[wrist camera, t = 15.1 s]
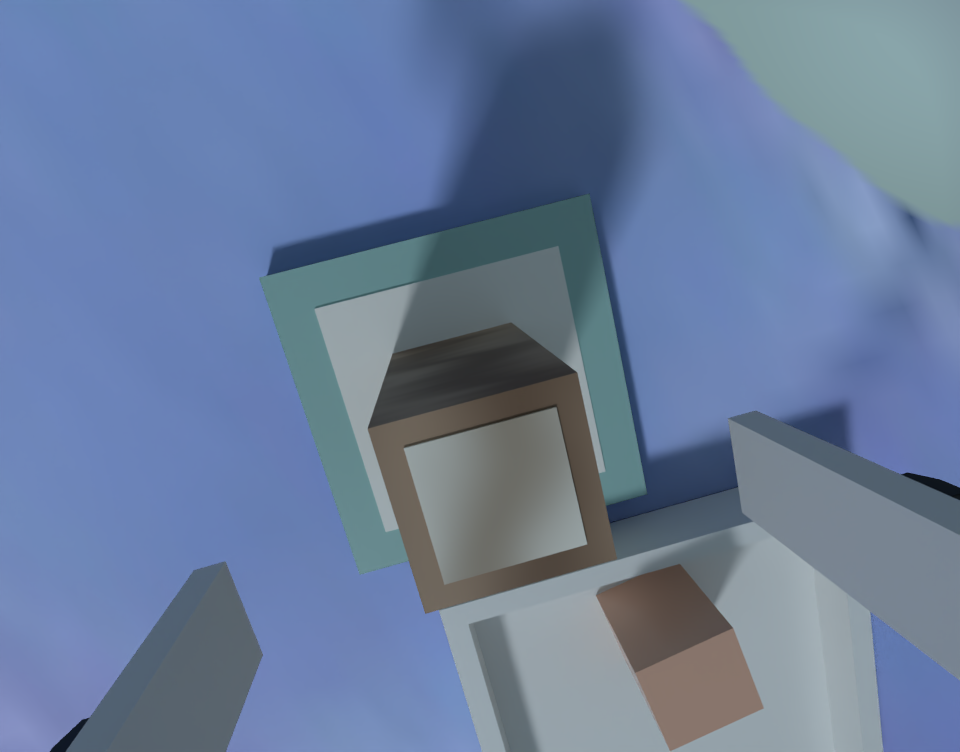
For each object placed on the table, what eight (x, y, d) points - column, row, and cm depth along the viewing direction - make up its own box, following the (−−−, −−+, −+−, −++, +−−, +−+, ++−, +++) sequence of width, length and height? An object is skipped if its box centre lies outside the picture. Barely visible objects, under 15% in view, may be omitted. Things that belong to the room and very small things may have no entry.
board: (362, 562, 30) (359, 575, 29) (266, 276, 27) (258, 277, 25) (638, 485, 31) (647, 495, 30) (582, 196, 27) (590, 193, 26)
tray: (532, 888, 36) (543, 953, 33) (437, 571, 31) (439, 610, 27) (849, 790, 37) (892, 844, 34) (812, 466, 32) (858, 491, 28)
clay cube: (625, 662, 32) (670, 751, 27) (595, 595, 31) (635, 673, 25) (703, 627, 32) (764, 708, 27) (675, 558, 31) (733, 627, 25)
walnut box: (425, 465, 28) (425, 615, 16) (392, 353, 27) (367, 429, 15) (537, 434, 28) (618, 560, 17) (511, 322, 27) (578, 372, 15)
